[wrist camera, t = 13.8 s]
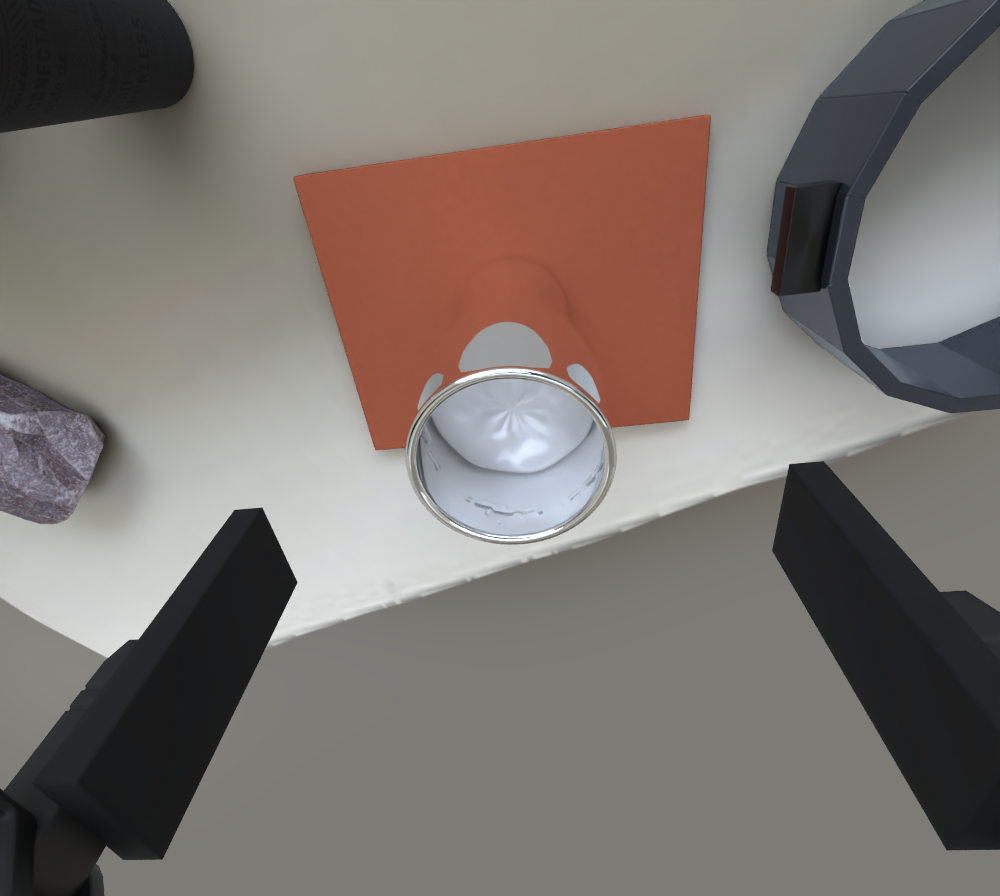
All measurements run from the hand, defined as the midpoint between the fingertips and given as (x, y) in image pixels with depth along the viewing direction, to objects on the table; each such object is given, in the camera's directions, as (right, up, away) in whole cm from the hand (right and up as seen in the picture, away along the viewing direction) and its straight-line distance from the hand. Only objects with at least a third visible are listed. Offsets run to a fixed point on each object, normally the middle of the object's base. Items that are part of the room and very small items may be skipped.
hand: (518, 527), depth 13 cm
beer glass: (0, +10, +16) cm, 18 cm away
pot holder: (0, +10, +16) cm, 19 cm away
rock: (-31, +4, +21) cm, 38 cm away
